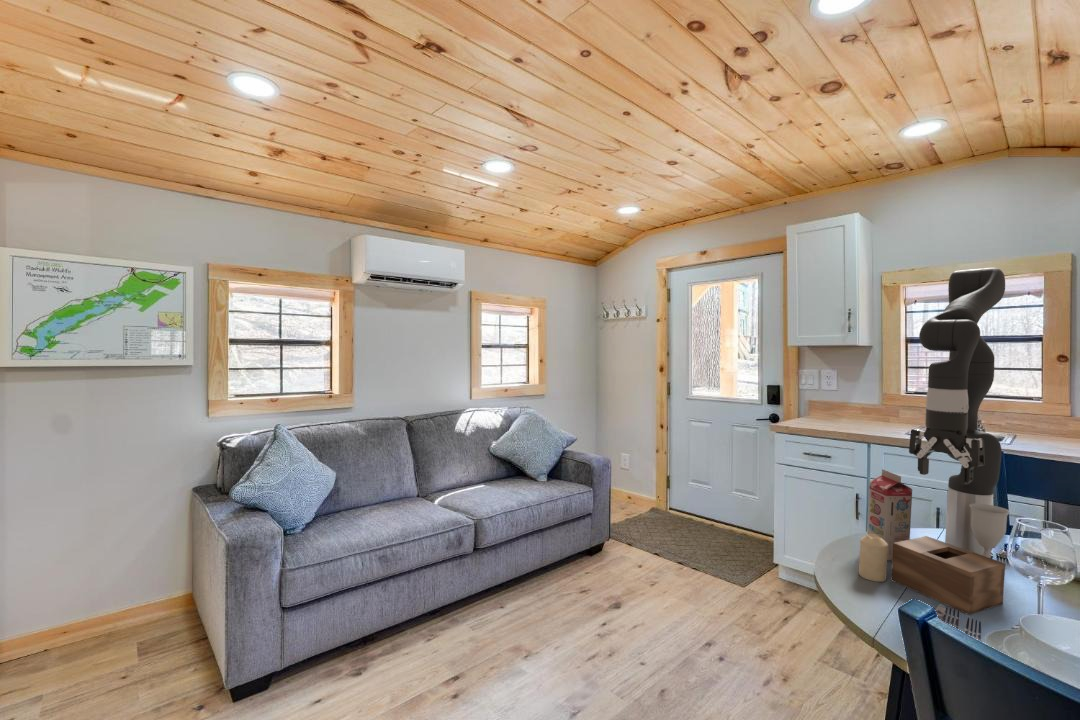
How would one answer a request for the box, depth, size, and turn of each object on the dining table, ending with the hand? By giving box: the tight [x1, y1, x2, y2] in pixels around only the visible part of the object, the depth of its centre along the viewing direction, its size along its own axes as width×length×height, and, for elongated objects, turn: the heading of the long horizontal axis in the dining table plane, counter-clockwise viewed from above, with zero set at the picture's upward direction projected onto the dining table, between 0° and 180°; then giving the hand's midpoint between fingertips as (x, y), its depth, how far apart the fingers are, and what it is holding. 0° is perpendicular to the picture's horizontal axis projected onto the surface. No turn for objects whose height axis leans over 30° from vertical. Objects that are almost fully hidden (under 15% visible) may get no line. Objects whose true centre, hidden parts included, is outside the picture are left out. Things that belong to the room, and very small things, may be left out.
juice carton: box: [866, 469, 913, 560], centre depth 136 cm, size 7×7×22 cm
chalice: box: [969, 504, 1011, 559], centre depth 121 cm, size 7×7×18 cm
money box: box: [890, 535, 1006, 615], centre depth 117 cm, size 12×16×9 cm
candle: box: [858, 533, 888, 583], centre depth 124 cm, size 6×6×10 cm
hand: (944, 478), depth 118 cm, fingers open, 8 cm apart
